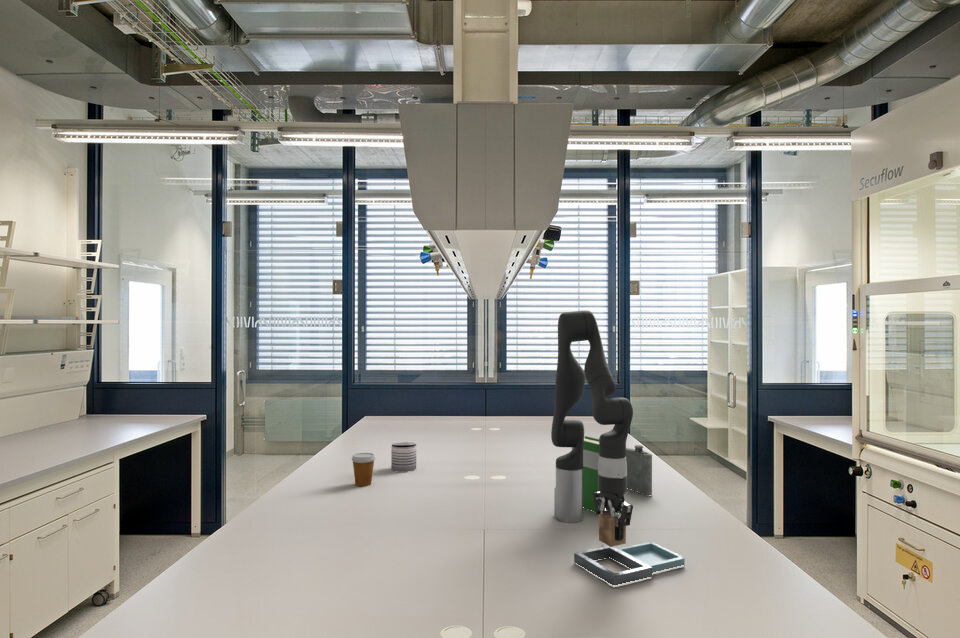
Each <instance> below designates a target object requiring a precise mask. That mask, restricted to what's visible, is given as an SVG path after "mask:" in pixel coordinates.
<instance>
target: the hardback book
mask: <svg viewBox="0 0 960 638" xmlns="http://www.w3.org/2000/svg"><path fill="white" fill-rule="evenodd" d="M572 450H573V447H571V451H572ZM598 461H599V438H598V437H597V438H596V437H592V436H587V435H584V447H583V507H584V508H586V509H585V510H587V509H589V510H592V511H594V512H593V513H595V504H594V497H593V493H594V492H600V490H599V489H598ZM600 507H601V505H599V510H600ZM584 508H583V509H584ZM589 510H588V511H589ZM592 511H591V512H592ZM616 513H620V511H619V512H616Z"/></svg>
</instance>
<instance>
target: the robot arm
mask: <svg viewBox="0 0 960 638" xmlns="http://www.w3.org/2000/svg"><path fill="white" fill-rule="evenodd" d="M584 341H588V343H589V352H588V355H587V357H586V360H585V362H584V368H583V367H582V366H581V365H580V363H579V362H578V360H577V359H576V358H575V356H574V354H573V352H572V349H571V344H572V343H575V342H584ZM555 373H556V374H555V385H554V387H555V392H554V393H555V394H554V408H553V409H554V411H553V417H552V424H551V431H550V433H551V435H550V436H551V443H552V445H553V446H554V447H557V448H572V447H573V450H572V449H571V450H570V451H569V452H568V453H565V454H563V455H561V456H558V457H557V458H556V459H555V487H554V489H553V491H554V493H553V494H554V496H553V497H554V499H553V501H554V504H553V505H554V506H553V507H554V510H553V511H554V516H555V519H556V520H558V521H560V522H565V523H578V522H581V521H583V520H584V508H583V447H584V439H585V427H584V422H583V421H582V420H581V419H565V418H566V417H567V415H568V414H569V412H570V411H571V410H572V409H573V408H574V407H575V405H577V403H579V402H580V400H581V399H582V397H583V395H584V393H585V385H586V382H587V385H588V388H589V390H590V395H591V396H590V397H591V404H592V405H591V409H592V410H591V411H592V417H593V420H594V421H595V422H596V423H597V424H599V425H601V426H610V425H612V426H613V425H614V426H613V428H612V429H611V430H609V431H607V432H604V433H602V434H600V436H599V438H598V439H599V461H598V489H599V490H600V492H594V493H593V497H594V504H595V512H596V513H595V512H594V513H595V514H596V516H599V514H602V513H603V514H605V513H608V512H609V513H611V515H612V517H613V518H614V519H615V540H616V541H621V540H623V538H624V526H626V527H628V526H629V527H630V525H631V521H632V515H633V510H634V509H633V508H634V506H633V504H632V503H630V504H629V503H627V502H626V499H625V494H626V492H627V490H628V489H627V462H626V448H627V441H628V440H627V439H628V435H629V431H630V428H631V424H632V421H633V418H634V417H633V416H634V408H633V405H632V403H631V401H630V400H629V399H628V398H625V397H611V396H612V395H614V394H615V392H616V390H617V386H616V382H615V380H614V377H613V375H612V372H611V370H610V367H609V364H608V362H607V358H606V355H605V350H604V346H603V342H602V338H601V334H600V330H599V326H598V322H597V320H596V317H595V315H594V313H593V312H592V311H591V310H587V309H586V310H574V311H573V310H572V311H565V312H562V313H561V314H560V315H559V317H558V321H557V363H556V372H555ZM599 505H601V507H600V510H599ZM619 511H620V513H619V514H616V512H619ZM618 517H620V522H619V520H618ZM625 519H626V521H625Z"/></svg>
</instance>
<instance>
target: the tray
mask: <svg viewBox="0 0 960 638" xmlns="http://www.w3.org/2000/svg"><path fill="white" fill-rule="evenodd" d="M617 549H619V550H620V551H622V552H624V553H626V554H628V555H630V556H632V557H634V558H635V559H637V560H639V561H641V562H643V563H645V564H647V565H649V566H650V567H652V573H653V572H656V571H661V570H664V569H669V568H673V567H677V566H681V565H684V566H685V557H683V555H681V554H680V553H676V552H674V551H673V550H670V549H668V548H666V547H664V546H663V545H659V544H657V543H656V542H651V541H646V542H642V543H641V542H640V543H638V544H633V545H628V546H622V547H618V548H617Z"/></svg>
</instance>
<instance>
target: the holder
mask: <svg viewBox="0 0 960 638" xmlns="http://www.w3.org/2000/svg"><path fill="white" fill-rule="evenodd" d="M573 555H574V559H573V560H574V561H573V563H574V562H575V563H577V564H578V565H580V566H582V567H584V568H585V569H587V570H588V571H590V572H592V573H593V574H595V575H597V576H598V577H600V578H602V579H604V580H605V581H607V582H608V583H610V584H612V585H618V584H622V583H626V582H630V581H635V580H639V579H643V578H647V577H651V576H652V577H653V575H652V567H650V566H649V565H647V564H645V563H643V562H641V561H639V560H637V559H635V558H634V557H632V556H630V555H628V554H626V553H624V552H622V551H620V550H619V549H617V548H616V547H615V546H612V547H610V546H608V545H606V546H599V547H595V548H590V549H585V550H581V551H575V552H574V554H573ZM609 557H610V558H612V559H614V560H616V561H618V562H620V563H622V564H624V565H626V566H627V567H629V568H631V569H630V570H629V569H627V570H626V569H625V570H623V571H618V572H614V571H612V570H610V569H608V568H607V567H605V566H603V565H602V564H600V563H599V562H598V561H593V560H598V559H604V558H609ZM610 558H609V559H610ZM612 559H611V560H612Z"/></svg>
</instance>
